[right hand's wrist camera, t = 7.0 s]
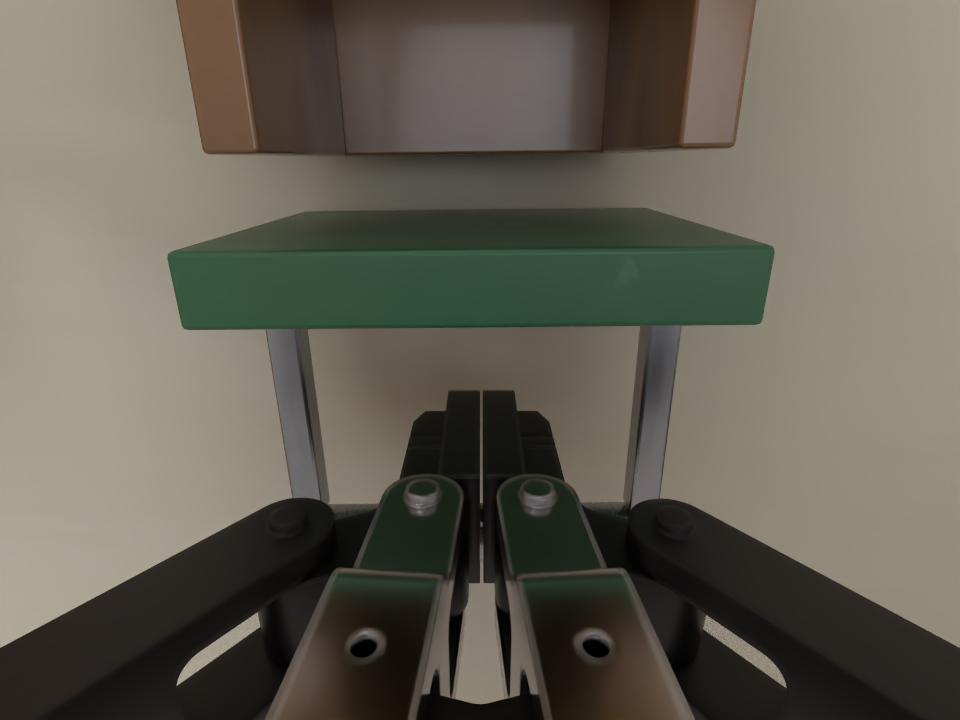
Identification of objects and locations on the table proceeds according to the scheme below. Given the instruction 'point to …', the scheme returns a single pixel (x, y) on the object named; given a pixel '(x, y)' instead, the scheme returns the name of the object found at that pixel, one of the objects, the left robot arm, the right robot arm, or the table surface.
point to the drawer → (469, 233)
